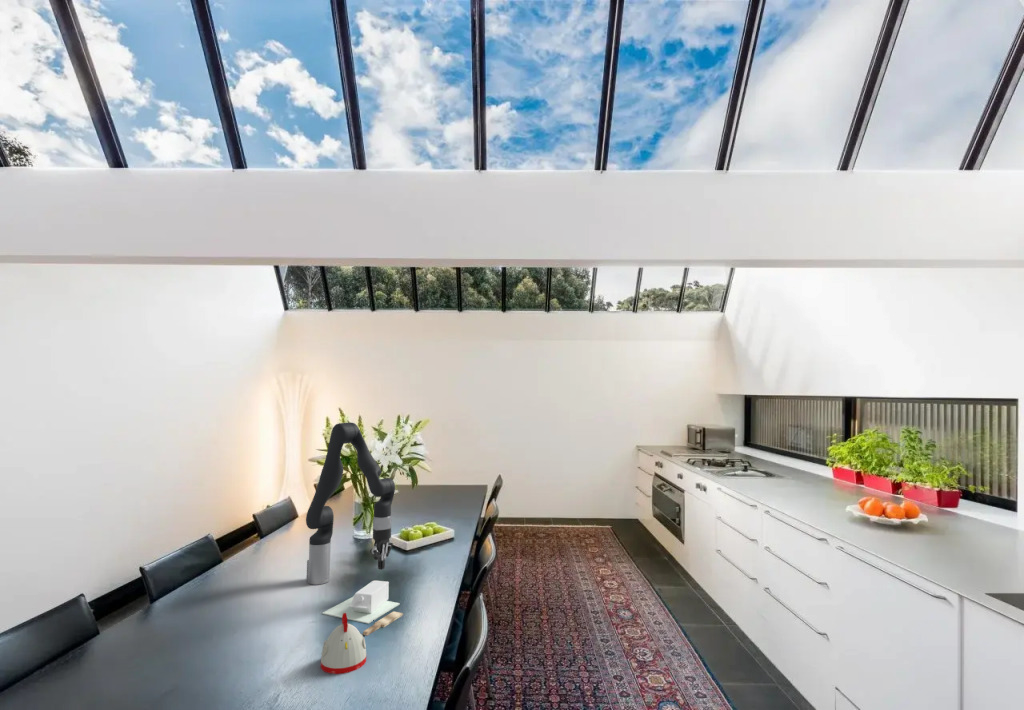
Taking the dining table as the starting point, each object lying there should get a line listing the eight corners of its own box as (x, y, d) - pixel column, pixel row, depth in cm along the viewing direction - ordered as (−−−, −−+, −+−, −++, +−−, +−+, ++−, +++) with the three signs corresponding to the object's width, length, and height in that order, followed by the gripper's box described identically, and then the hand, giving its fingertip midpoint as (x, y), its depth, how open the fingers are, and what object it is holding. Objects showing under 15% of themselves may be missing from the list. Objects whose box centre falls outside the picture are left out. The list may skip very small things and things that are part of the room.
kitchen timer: (322, 677, 161) (323, 626, 162) (319, 656, 173) (320, 609, 174) (369, 668, 166) (370, 618, 167) (363, 648, 179) (364, 602, 180)
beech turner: (369, 636, 188) (370, 632, 188) (359, 634, 189) (360, 630, 189) (403, 615, 206) (403, 612, 206) (393, 613, 208) (393, 610, 208)
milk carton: (388, 599, 220) (365, 617, 202) (373, 597, 222) (349, 616, 204) (389, 581, 221) (366, 598, 202) (373, 580, 223) (349, 596, 204)
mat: (322, 613, 207) (322, 612, 207) (356, 595, 225) (356, 594, 225) (368, 623, 198) (368, 622, 198) (399, 604, 216) (399, 603, 216)
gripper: (384, 522, 232) (383, 563, 231) (364, 529, 220) (363, 572, 219) (398, 524, 229) (398, 565, 228) (379, 531, 217) (378, 575, 216)
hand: (381, 568), depth 223 cm, fingers closed
